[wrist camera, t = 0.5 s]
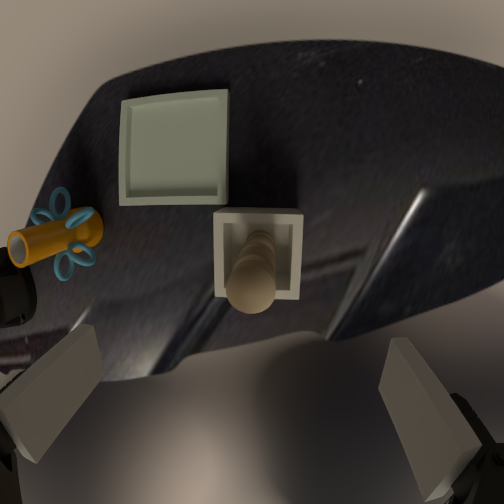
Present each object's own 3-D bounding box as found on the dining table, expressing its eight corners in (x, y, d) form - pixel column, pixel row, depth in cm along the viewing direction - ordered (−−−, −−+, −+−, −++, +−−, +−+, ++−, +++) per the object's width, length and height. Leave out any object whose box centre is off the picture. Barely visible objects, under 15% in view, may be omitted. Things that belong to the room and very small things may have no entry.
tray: (127, 204, 37) (119, 205, 35) (129, 104, 34) (121, 100, 32) (228, 203, 37) (225, 204, 34) (230, 94, 33) (227, 89, 31)
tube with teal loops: (62, 186, 37) (-11, 194, 23) (116, 183, 37) (44, 189, 22) (66, 263, 40) (1, 296, 26) (119, 269, 40) (56, 310, 25)
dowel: (245, 258, 37) (226, 312, 22) (245, 229, 37) (225, 265, 21) (274, 259, 37) (274, 314, 22) (275, 230, 36) (276, 267, 21)
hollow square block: (224, 276, 39) (215, 296, 32) (224, 207, 37) (213, 212, 30) (294, 278, 38) (298, 299, 31) (297, 208, 36) (303, 214, 29)
